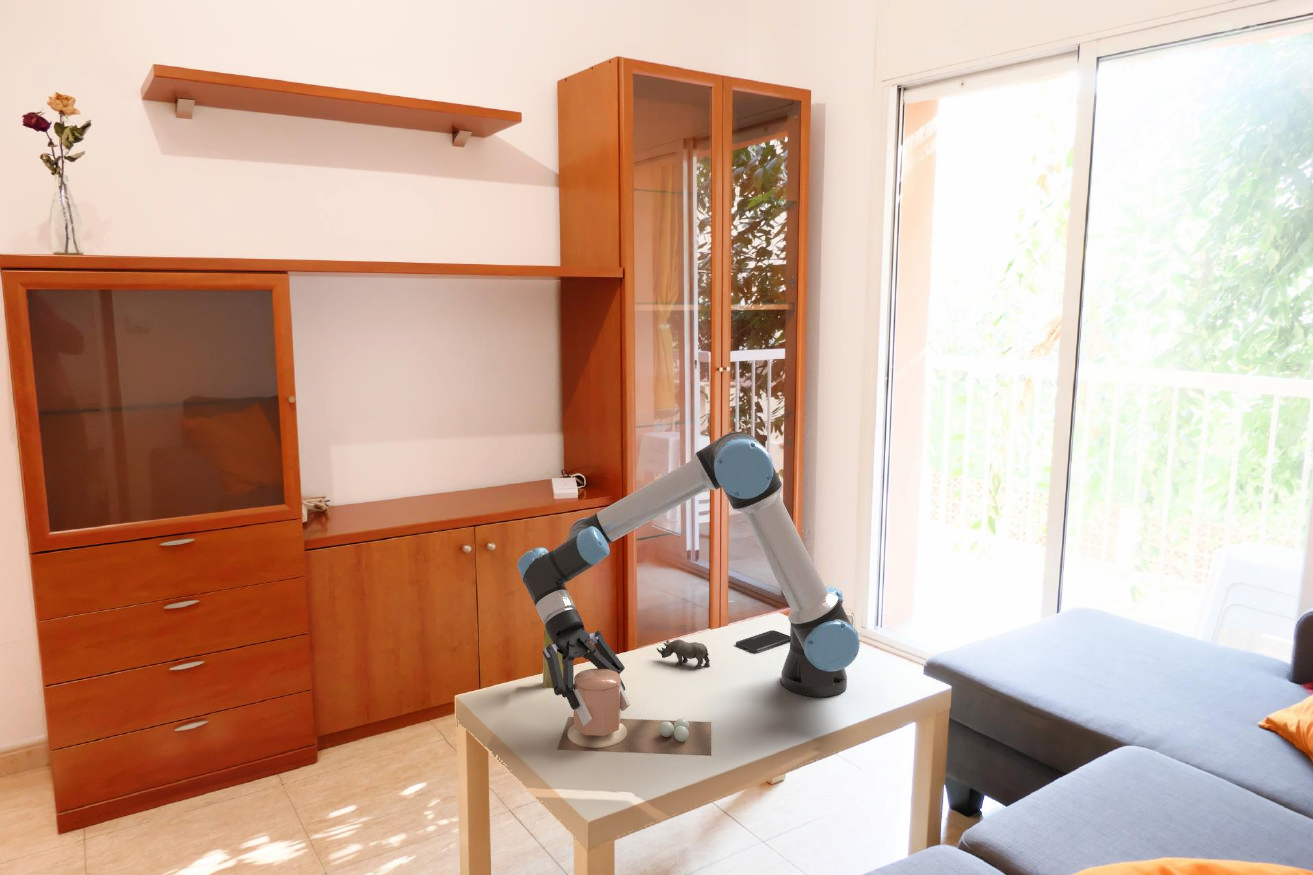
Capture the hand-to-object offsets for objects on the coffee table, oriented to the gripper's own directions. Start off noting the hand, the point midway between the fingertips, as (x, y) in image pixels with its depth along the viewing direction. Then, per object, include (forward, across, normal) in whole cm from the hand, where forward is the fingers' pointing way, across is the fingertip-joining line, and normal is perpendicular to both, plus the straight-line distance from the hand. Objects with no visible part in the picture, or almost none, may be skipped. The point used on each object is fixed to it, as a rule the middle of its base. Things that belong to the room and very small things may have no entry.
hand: (607, 714), depth 173 cm
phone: (-7, -66, -17) cm, 68 cm away
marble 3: (+10, -11, +4) cm, 15 cm away
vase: (-17, -8, -26) cm, 32 cm away
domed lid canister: (0, 0, -5) cm, 5 cm away
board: (+6, -6, -3) cm, 9 cm away
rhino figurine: (-10, -40, -19) cm, 45 cm away
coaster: (+1, 0, -6) cm, 6 cm away
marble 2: (+8, -13, +3) cm, 16 cm away
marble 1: (+7, -10, +2) cm, 13 cm away
